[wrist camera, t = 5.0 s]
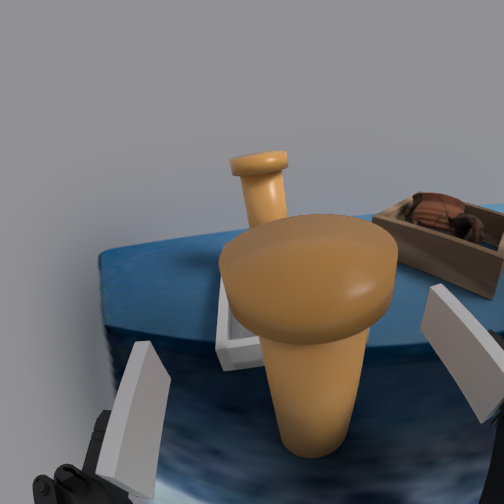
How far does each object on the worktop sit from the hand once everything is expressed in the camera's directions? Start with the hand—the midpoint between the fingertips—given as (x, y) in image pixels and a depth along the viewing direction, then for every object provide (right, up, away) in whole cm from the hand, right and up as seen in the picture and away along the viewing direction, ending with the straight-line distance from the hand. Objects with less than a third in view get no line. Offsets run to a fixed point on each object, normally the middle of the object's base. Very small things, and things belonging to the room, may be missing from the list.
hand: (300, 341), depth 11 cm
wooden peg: (+1, -7, +2) cm, 7 cm away
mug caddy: (+22, +4, +16) cm, 28 cm away
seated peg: (0, +2, +19) cm, 19 cm away
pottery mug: (+21, +4, +16) cm, 27 cm away
